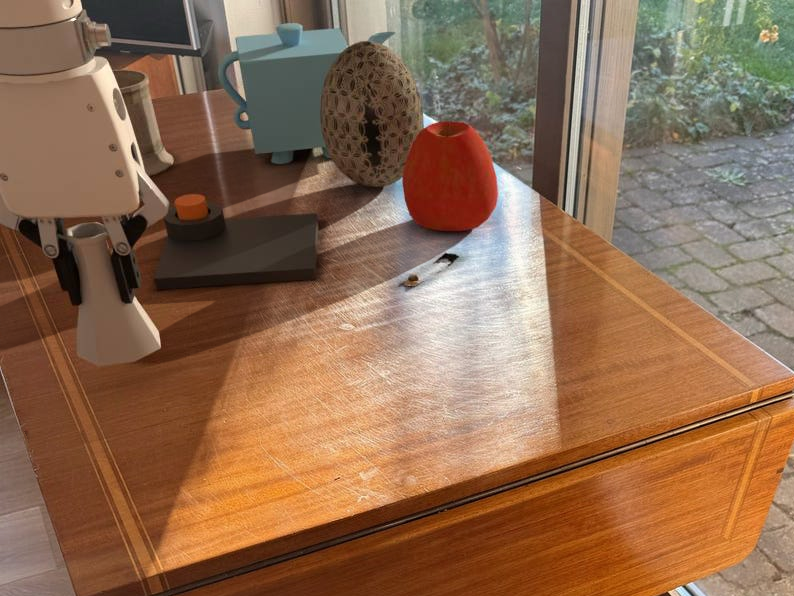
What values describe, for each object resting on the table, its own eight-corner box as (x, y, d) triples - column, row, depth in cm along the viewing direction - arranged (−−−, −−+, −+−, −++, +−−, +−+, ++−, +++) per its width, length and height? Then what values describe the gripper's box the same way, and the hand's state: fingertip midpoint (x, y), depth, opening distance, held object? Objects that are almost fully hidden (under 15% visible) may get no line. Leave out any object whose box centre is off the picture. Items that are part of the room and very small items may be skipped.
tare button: (176, 223, 104) (172, 206, 103) (180, 211, 106) (176, 194, 105) (207, 221, 104) (203, 204, 103) (210, 209, 106) (206, 193, 105)
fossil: (446, 257, 103) (445, 249, 103) (460, 261, 102) (460, 253, 102) (401, 287, 99) (400, 279, 98) (416, 291, 98) (415, 283, 97)
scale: (156, 290, 99) (148, 260, 97) (174, 230, 109) (167, 203, 107) (315, 279, 100) (311, 250, 97) (319, 222, 110) (315, 194, 108)
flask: (175, 352, 83) (148, 235, 76) (92, 377, 80) (55, 258, 73) (144, 318, 88) (114, 204, 80) (63, 341, 85) (26, 225, 77)
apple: (416, 248, 104) (408, 143, 97) (396, 211, 111) (388, 111, 104) (508, 235, 106) (508, 131, 98) (483, 200, 113) (481, 100, 106)
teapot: (235, 170, 121) (211, 44, 112) (231, 140, 129) (208, 20, 119) (410, 152, 124) (401, 28, 115) (396, 124, 132) (387, 5, 122)
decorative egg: (426, 164, 121) (418, 25, 111) (428, 201, 113) (419, 54, 103) (331, 168, 121) (314, 29, 111) (326, 206, 113) (307, 59, 102)
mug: (186, 166, 123) (161, 58, 115) (111, 185, 119) (80, 75, 110) (139, 136, 131) (113, 34, 123) (68, 153, 127) (36, 49, 119)
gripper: (162, 27, 71) (211, 273, 84) (-73, 32, 70) (13, 280, 83) (147, 58, 66) (202, 315, 79) (-108, 63, 65) (-10, 323, 78)
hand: (104, 294), depth 81 cm, fingers closed on flask, 3 cm apart
